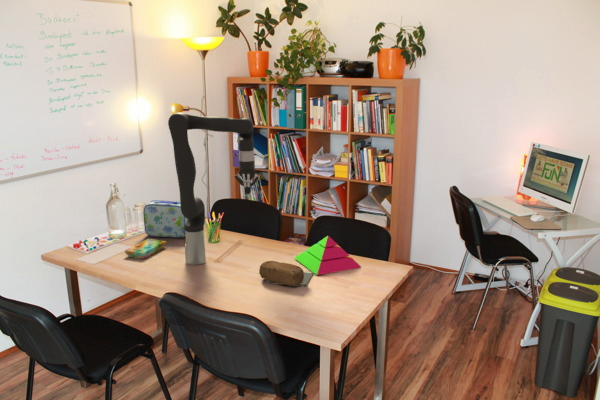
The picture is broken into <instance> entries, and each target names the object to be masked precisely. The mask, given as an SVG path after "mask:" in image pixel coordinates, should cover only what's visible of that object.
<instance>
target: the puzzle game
mask: <svg viewBox="0 0 600 400" xmlns="http://www.w3.org/2000/svg"><path fill="white" fill-rule="evenodd" d="M165 245H167V240H160V239H159V240H158V239H154V238H153V239H152V238H148V239H144V241H141V242H138V244H135V245H133V246H131V247H128V248H126V249H125V250H124V254H126V256H127V257H128V258H129V257H130V258H134V257H136V259H140V258H142V259H141V260H144V259H147V258H148V257H150V256H151V254H152V255H153V254H156V253H157V252H159V251H161V250H162V249H163V247H164V246H165ZM160 249H161V250H160Z"/></svg>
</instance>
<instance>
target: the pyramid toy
mask: <svg viewBox="0 0 600 400" xmlns="http://www.w3.org/2000/svg"><path fill="white" fill-rule="evenodd" d="M294 259H295V260H296V261H298V263H300V264H302V265H303V266H304V267H306V268H307V269H308V270H309V271H310V272H313V274H314V275H316V276H320V275H326V274H331V273H337V272H338V273H339V272H344V271H349V270H354V269H359V268H360V267H361V268H362V266H361V265H360V264H359V263H358V262H357V261H356V260H355V259H354V258H353V257H351V256H350V254H349V253H347V251H345V250H344V249H343V248H342V247H341V246H339V244H338V243H337V242H336V241H335V240H334V239H332V237H330V235H327V236H325V237H323V239H321V240H319V241H318V242H317V243H314V244H313V245H311V246H310V247H308V248H307V249H306V250H304V251H302V252H301V253H300V254H298V255H296V256H295V257H294Z"/></svg>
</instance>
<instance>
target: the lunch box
mask: <svg viewBox="0 0 600 400" xmlns="http://www.w3.org/2000/svg"><path fill="white" fill-rule="evenodd" d="M187 220H188V219H187V218H185V217H184V216H183V214H182V212H181V206H180V201H173V200H172V201H169V200H159V199H157V200H156V199H154V200H151V201H150V202H149V203H147V204H145V206H144V207H143V225H144V232H145V233H146V235H147V236H149V237H155V238H157V237H158V238H159V237H161V238H176V239H181V238H184V237H186V236H185V224H186V222H187Z"/></svg>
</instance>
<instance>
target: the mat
mask: <svg viewBox="0 0 600 400" xmlns="http://www.w3.org/2000/svg"><path fill="white" fill-rule="evenodd" d="M303 272H304V279H303V282H302V283H301V284H299V285H297V286H298V287H305V288H306V287H308V284H309V283H310V280H311V278H312V277H313V275H314V273H313V272H312V271H311V270H309V271H307V270H303ZM263 283H264V284H276V285H281V284H280V283H276V282H272V281H268V280H265V279H264V281H263ZM283 285H285V284H283ZM297 286H296V287H297Z"/></svg>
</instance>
